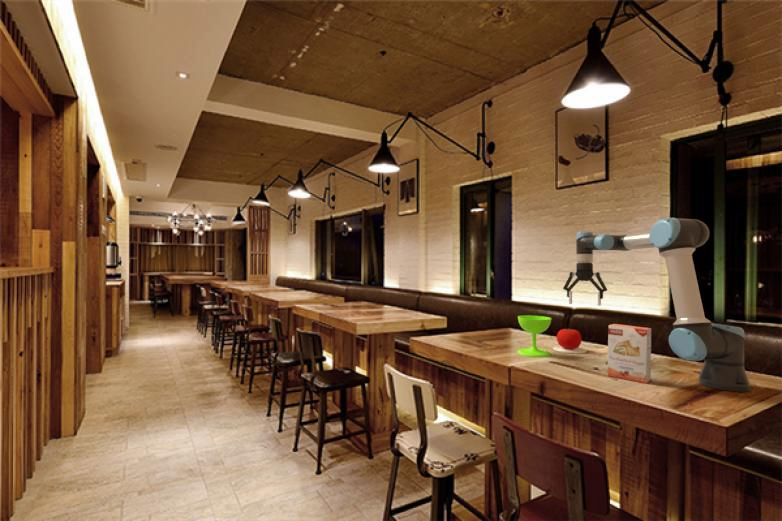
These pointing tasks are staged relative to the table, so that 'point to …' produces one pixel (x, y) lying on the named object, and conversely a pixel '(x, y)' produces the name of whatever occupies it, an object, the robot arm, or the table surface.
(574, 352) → the plate
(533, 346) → the wineglass
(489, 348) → the table surface
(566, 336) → the tomato
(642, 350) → the cracker box
